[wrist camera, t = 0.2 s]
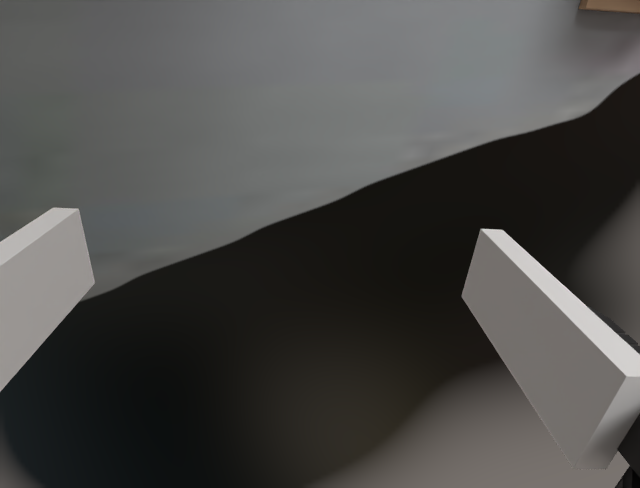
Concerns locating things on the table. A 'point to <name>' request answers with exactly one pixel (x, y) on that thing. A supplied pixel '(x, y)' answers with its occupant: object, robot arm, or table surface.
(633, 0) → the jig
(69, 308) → the robot arm
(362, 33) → the table surface
